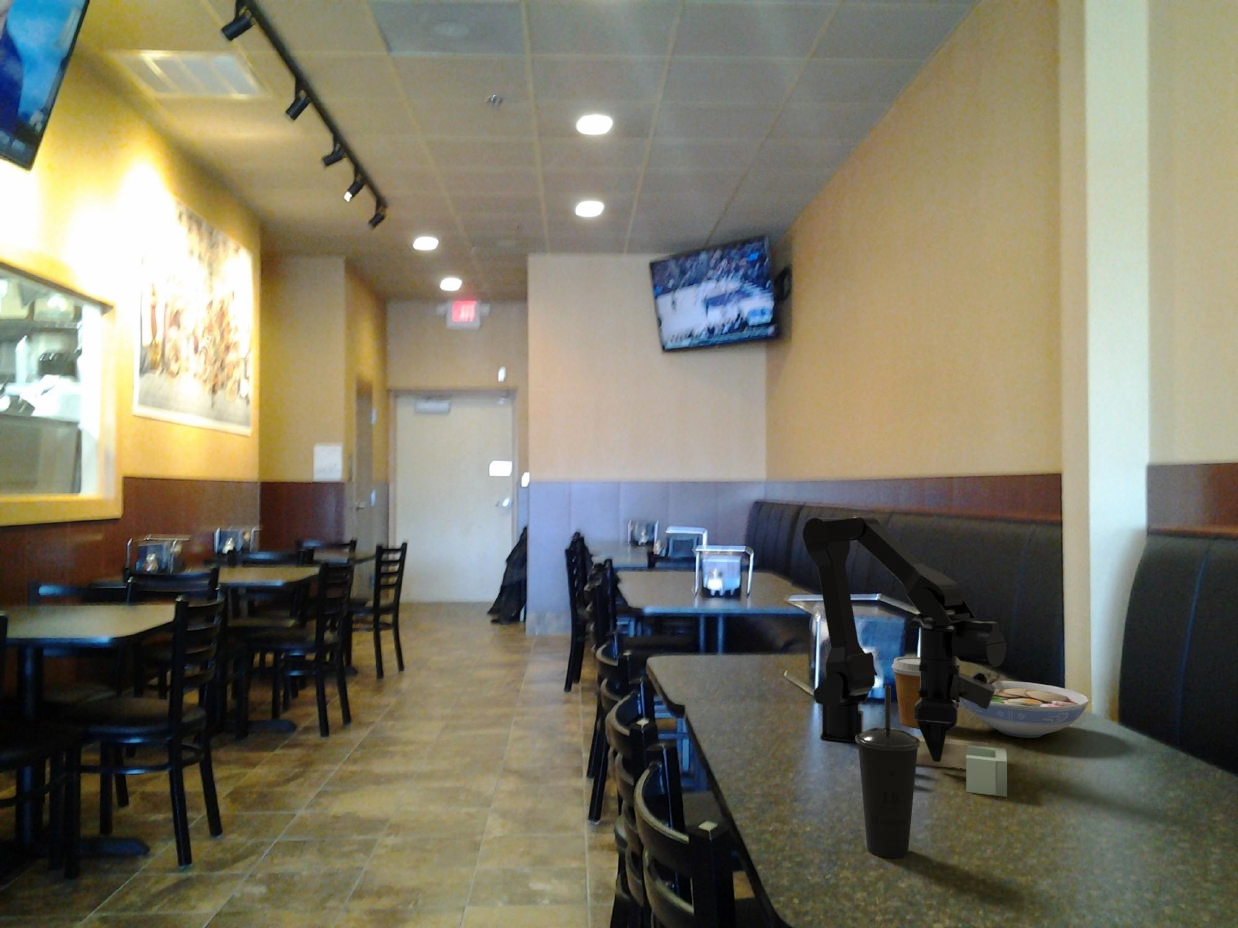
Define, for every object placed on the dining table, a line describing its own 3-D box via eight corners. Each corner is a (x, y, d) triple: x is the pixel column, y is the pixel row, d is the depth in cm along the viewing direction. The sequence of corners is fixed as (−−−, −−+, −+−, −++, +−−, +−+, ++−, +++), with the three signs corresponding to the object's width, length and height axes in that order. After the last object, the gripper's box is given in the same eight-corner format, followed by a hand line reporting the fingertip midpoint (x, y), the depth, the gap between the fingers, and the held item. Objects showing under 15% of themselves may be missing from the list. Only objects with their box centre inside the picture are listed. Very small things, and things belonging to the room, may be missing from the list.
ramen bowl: (1081, 758, 156) (1081, 709, 156) (940, 738, 168) (940, 692, 168) (1096, 727, 177) (1096, 684, 177) (969, 711, 189) (969, 670, 189)
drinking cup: (846, 839, 118) (847, 679, 119) (905, 838, 119) (905, 679, 119) (867, 863, 110) (868, 693, 111) (930, 862, 111) (930, 692, 112)
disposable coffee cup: (947, 731, 173) (947, 666, 173) (893, 728, 174) (893, 663, 175) (940, 719, 182) (940, 657, 182) (889, 716, 184) (889, 655, 184)
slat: (889, 762, 153) (890, 737, 153) (891, 757, 156) (891, 733, 156) (988, 772, 148) (988, 747, 148) (988, 767, 151) (987, 742, 151)
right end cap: (1005, 781, 143) (1005, 748, 143) (1006, 796, 136) (1006, 761, 136) (967, 777, 145) (967, 744, 145) (966, 791, 138) (966, 757, 138)
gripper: (991, 671, 141) (991, 775, 141) (991, 652, 158) (991, 745, 158) (914, 665, 145) (914, 767, 145) (922, 647, 163) (922, 738, 162)
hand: (938, 753), depth 152 cm, fingers open, 9 cm apart
